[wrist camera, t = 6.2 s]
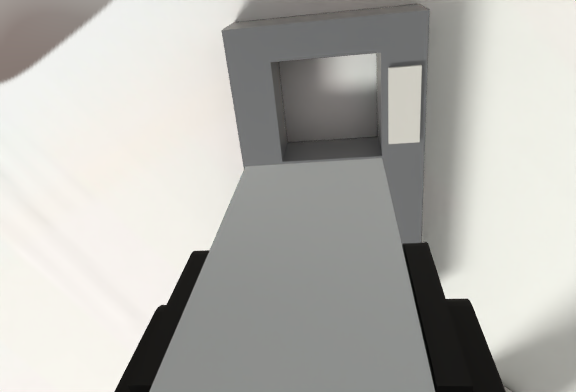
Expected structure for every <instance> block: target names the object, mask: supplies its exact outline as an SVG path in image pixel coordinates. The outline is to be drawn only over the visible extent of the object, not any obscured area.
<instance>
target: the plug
mask: <svg viewBox="0 0 576 392" xmlns="http://www.w3.org/2000/svg"><path fill="white" fill-rule="evenodd" d="M149 392H435V389H434V384H433V380H432V376H431V371H430V367H429V362H428V358H427V354H426V349H425V345H424V340H423V336H422V332H421V327H420V323H419V318H418V314H417V310H416V305H415V301H414V296H413V292H412V288H411V283H410V279H409V274H408V270H407V266H406V261H405V257H404V252H403V248H402V244H401V239H400V235H399V230H398V226H397V222H396V217H395V213H394V208H393V204H392V200H391V195H390V191H389V187H388V182H387V178H386V173H385V169H384V165H383V160H382V158H375V159H359V160H343V161H326V162H310V163H294V164H277V165H261V166H246V167H245V169H244V171H243V174H242V176H241V178H240V181H239V183H238V185H237V188H236V190H235V192H234V195H233V197H232V199H231V202H230V204H229V206H228V209H227V211H226V213H225V216H224V218H223V220H222V223H221V225H220V227H219V230H218V232H217V234H216V237H215V239H214V241H213V244H212V246H211V248H210V251H209V253H208V255H207V258H206V260H205V262H204V265H203V267H202V269H201V272H200V274H199V276H198V279H197V281H196V283H195V286H194V288H193V290H192V293H191V295H190V298H189V300H188V302H187V305H186V307H185V309H184V312H183V314H182V316H181V319H180V321H179V323H178V326H177V328H176V330H175V333H174V335H173V337H172V340H171V342H170V344H169V347H168V349H167V351H166V354H165V356H164V358H163V361H162V363H161V365H160V368H159V370H158V372H157V375H156V377H155V379H154V382H153V384H152V386H151V389H150V391H149Z"/></svg>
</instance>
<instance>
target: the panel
mask: <svg viewBox="0 0 576 392" xmlns="http://www.w3.org/2000/svg"><path fill="white" fill-rule="evenodd" d="M428 34H429V9H427V8H426V7H424V6H422V5H421V4H412V5H402V6H392V7H382V8H372V9H362V10H352V11H343V12H333V13H323V14H313V15H303V16H293V17H283V18H273V19H263V20H253V21H243V22H234V23H232V24H231V25H229V26H227V27H226V28H224V29H223V30H222V36H223V42H224V48H225V54H226V61H227V67H228V73H229V79H230V85H231V92H232V98H233V104H234V110H235V116H236V122H237V129H238V135H239V141H240V147H241V153H242V159H243V166H244V169H245V167H246V166H261V165H277V164H294V163H310V162H326V161H343V160H359V159H375V158H382V160H383V165H384V169H385V173H386V178H387V182H388V187H389V191H390V195H391V200H392V204H393V208H394V213H395V217H396V222H397V226H398V230H399V235H400V239H401V244H402V245H403V243H421V236H422V207H423V178H424V150H425V121H426V92H427V63H428ZM370 53H376V56H377V122H378V137H367V138H351V139H336V140H320V141H304V142H289V143H288V142H287V133H286V124H285V115H284V106H283V97H282V88H281V79H280V70H279V61H291V60H302V59H313V58H325V57H336V56H347V55H359V54H370Z"/></svg>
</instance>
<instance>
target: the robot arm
mask: <svg viewBox="0 0 576 392" xmlns="http://www.w3.org/2000/svg"><path fill="white" fill-rule="evenodd" d="M402 248H403V252H404V257H405V261H406V266H407V270H408V274H409V279H410V283H411V288H412V292H413V296H414V301H415V305H416V310H417V314H418V318H419V323H420V327H421V332H422V336H423V340H424V345H425V349H426V354H427V358H428V362H429V367H430V371H431V376H432V380H433V384H434V389H435V392H506V391H505V389H504V386H503V384H502V381H501V378H500V376H499V373H498V371H497V368H496V366H495V363H494V360H493V358H492V355H491V353H490V350H489V348H488V345H487V342H486V340H485V337H484V335H483V332H482V329H481V327H480V324H479V322H478V319H477V317H476V314H475V311H474V309H473V306H472V304H471V302H470V301H469V300H468V299H445V296H444V292H443V289H442V286H441V283H440V280H439V277H438V274H437V270H436V267H435V264H434V261H433V258H432V255H431V252H430V248H429V245H428V243H403V245H402ZM208 253H209V251H193V252H192V254H191V255H190V258H189V260H188V262H187V264H186V266H185V268H184V270H183V272H182V274H181V276H180V278H179V280H178V282H177V284H176V286H175V289H174V291H173V293H172V295H171V297H170V299H169V301H168V303H167V305H161V306H159V307H158V308H157V310H156V311H155V313H154V315H153V317H152V319H151V321H150V323H149V325H148V327H147V329H146V331H145V333H144V334H143V336H142V338H141V340H140V342H139V344H138V346H137V348H136V350H135V352H134V354H133V356H132V358H131V360H130V362H129V364H128V366H127V368H126V370H125V372H124V374H123V376H122V378H121V380H120V382H119V384H118V386H117V388H116V390H115V392H149V391H150V389H151V386H152V384H153V382H154V379H155V377H156V375H157V372H158V370H159V368H160V365H161V363H162V361H163V358H164V356H165V354H166V351H167V349H168V347H169V344H170V342H171V340H172V337H173V335H174V333H175V330H176V328H177V326H178V323H179V321H180V319H181V316H182V314H183V312H184V309H185V307H186V305H187V302H188V300H189V298H190V295H191V293H192V290H193V288H194V286H195V283H196V281H197V279H198V276H199V274H200V272H201V269H202V267H203V265H204V262H205V260H206V258H207V255H208Z"/></svg>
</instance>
